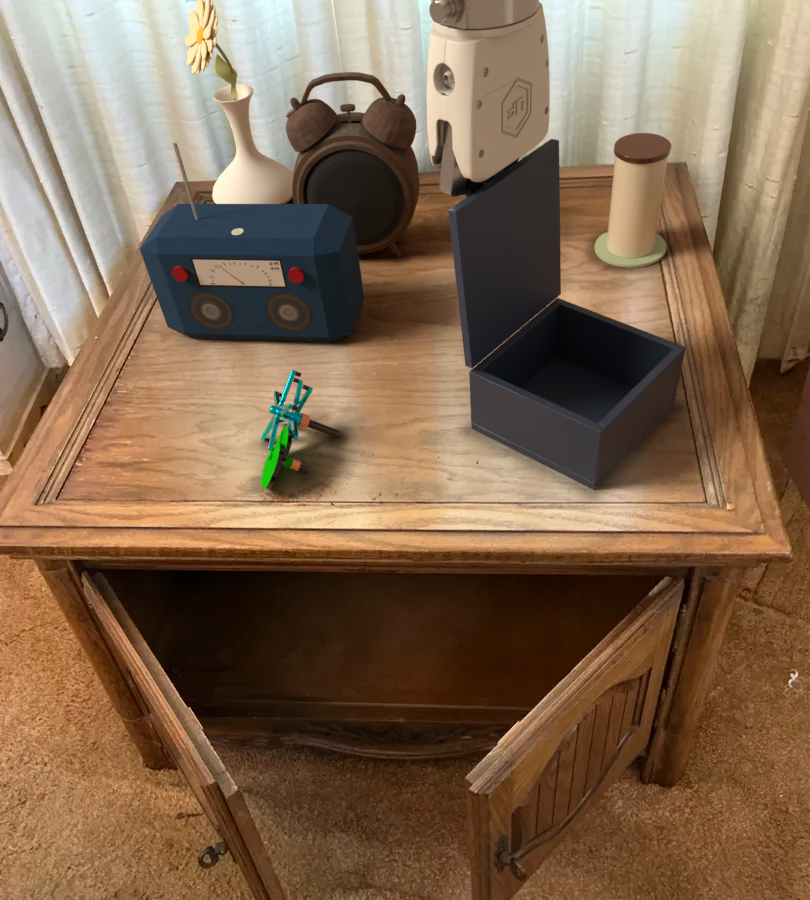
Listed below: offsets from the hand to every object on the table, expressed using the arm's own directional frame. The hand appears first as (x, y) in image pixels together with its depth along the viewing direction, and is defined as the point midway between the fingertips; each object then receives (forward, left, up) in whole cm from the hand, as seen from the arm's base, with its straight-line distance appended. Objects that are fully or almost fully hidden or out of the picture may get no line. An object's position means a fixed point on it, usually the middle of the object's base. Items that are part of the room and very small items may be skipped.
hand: (488, 237), depth 73 cm
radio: (+26, -8, -16) cm, 31 cm away
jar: (-13, -24, -15) cm, 32 cm away
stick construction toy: (+17, +12, -16) cm, 26 cm away
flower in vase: (+35, -34, -16) cm, 51 cm away
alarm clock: (+18, -23, -16) cm, 33 cm away
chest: (-8, +5, -15) cm, 18 cm away
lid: (-2, +1, -1) cm, 3 cm away
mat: (-13, -24, -15) cm, 32 cm away
